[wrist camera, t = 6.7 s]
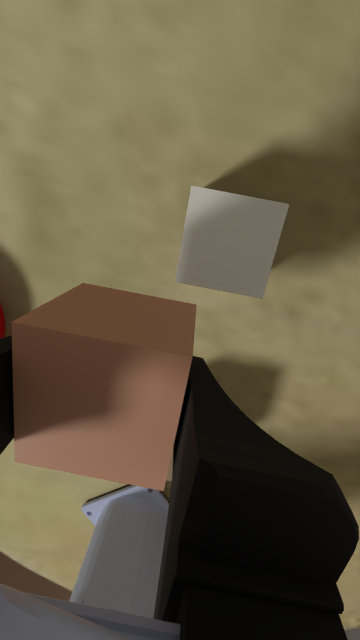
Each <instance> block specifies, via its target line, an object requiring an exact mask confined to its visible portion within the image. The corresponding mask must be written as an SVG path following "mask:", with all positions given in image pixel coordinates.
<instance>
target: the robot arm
mask: <svg viewBox="0 0 360 640" xmlns="http://www.w3.org/2000/svg"><path fill="white" fill-rule="evenodd" d="M13 438H14V402H13V364H12V336H9V337H5V338H1V339H0V454H1V453H2V452H3V451H4V449H5V448H6V447H7V445H8V444H9V443H10V442H11V441H12V439H13ZM81 510H82V511H83V513H84V514H85V515H86V516H87V517H88V518H89V519H90V521H91V522H92V523H93V524H94V525H95V529H94V532H93V535H92V538H91V541H90V543H89V546H88V549H87V552H86V555H85V558H84V561H83V564H82V566H81V569H80V572H79V575H78V578H77V581H76V584H75V587H74V589H73V592H72V595H71V598H70V601H69V602H68V601H63V600H59V599H53V598H48V597H44V596H39V595H34V594H29V593H24V592H21V591H18V590H16V589H14V588H11V587H8V586H6V585H3V584H1V583H0V640H347V637H346V634H345V631H344V628H343V625H342V622H341V619H340V617H339V614H342V612H343V611H344V605H343V601H342V598H341V596H340V593H339V590H338V587H337V585H336V582H337V581H338V579H339V577H340V575H341V574H342V572H343V570H344V569H345V567H346V565H347V563H348V562H349V560H350V558H351V556H352V555H353V553H354V551H355V548H356V545H357V543H358V540H359V530H358V524H357V522H356V520H355V517H354V515H353V513H352V511H351V509H350V507H349V505H348V503H347V501H346V499H345V497H344V495H343V493H342V491H341V489H340V487H339V485H338V484H337V482H336V480H335V479H334V477H333V475H332V474H330V473H328V472H327V471H325V470H323V469H321V468H320V467H318V466H316V465H314V464H313V463H311V462H309V461H307V460H306V459H304V458H302V457H301V456H299V455H297V454H296V453H294V452H293V451H291V450H290V449H288V448H287V447H285V446H284V445H282V444H281V443H279V442H278V441H276V440H275V439H274V438H272V437H271V436H270V435H268V434H267V433H266V432H265V431H263V430H262V429H261V428H260V427H259V426H257V425H256V424H255V423H254V422H253V421H251V420H250V419H249V418H248V417H247V416H246V415H245V414H244V413H243V412H242V411H241V410H240V409H239V408H238V407H237V406H236V405H235V404H234V403H233V402H232V400H231V399H230V398H229V397H228V396H227V394H226V393H225V392H224V391H223V389H222V388H221V387H220V385H219V384H218V382H217V381H216V379H215V378H214V376H213V375H212V373H211V371H210V370H209V368H208V366H207V364H206V363H205V361H204V359H203V358H200V357H195V356H193V357H192V362H191V366H190V371H189V376H188V380H187V385H186V390H185V394H184V399H183V404H182V408H181V413H180V418H179V422H178V427H177V432H176V436H175V441H174V446H173V472H172V486H171V494H170V501H169V503H168V501H167V500H166V499H165V497H164V496H163V495H162V494H161V492H160V491H159V490H155V489H150V488H145V487H140V486H135V485H131V486H128V487H125V488H123V489H120V490H118V491H115V492H113V493H110V494H107V495H105V496H102V497H100V498H97V499H94V500H92V501H89V502H87V503H84V504H83V506H82V508H81Z"/></svg>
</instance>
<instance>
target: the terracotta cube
mask: <svg viewBox="0 0 360 640" xmlns="http://www.w3.org/2000/svg"><path fill="white" fill-rule="evenodd" d="M195 317H196V305H195V304H190V303H185V302H180V301H174V300H169V299H164V298H159V297H154V296H148V295H143V294H138V293H133V292H127V291H122V290H117V289H112V288H107V287H101V286H96V285H91V284H86V283H82V284H80V285H79V286H77V287H75V288H73V289H71V290H69V291H68V292H66V293H64V294H62V295H60V296H58V297H56V298H55V299H53V300H51V301H49V302H47V303H45V304H44V305H42V306H40V307H38V308H36V309H34V310H32V311H31V312H29V313H27V314H25V315H23V316H21V317H19V318H18V319H16V320H14V321H12V322H11V325H12V364H13V402H14V441H15V462H19V463H24V464H29V465H34V466H39V467H44V468H50V469H55V470H60V471H65V472H70V473H75V474H80V475H85V476H90V477H95V478H100V479H105V480H110V481H115V482H120V483H125V484H130V485H135V486H140V487H145V488H150V489H155V490H160V491H164V488H165V483H166V478H167V474H168V469H169V464H170V460H171V455H172V450H173V446H174V441H175V436H176V432H177V427H178V422H179V418H180V413H181V408H182V404H183V399H184V394H185V390H186V385H187V380H188V376H189V371H190V366H191V362H192V357H193V344H194V330H195Z"/></svg>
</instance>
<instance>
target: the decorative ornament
mask: <svg viewBox="0 0 360 640" xmlns="http://www.w3.org/2000/svg"><path fill="white" fill-rule="evenodd" d="M4 335H5V319H4V314H3V310H2V307H1V304H0V339H1V338H4Z"/></svg>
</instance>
